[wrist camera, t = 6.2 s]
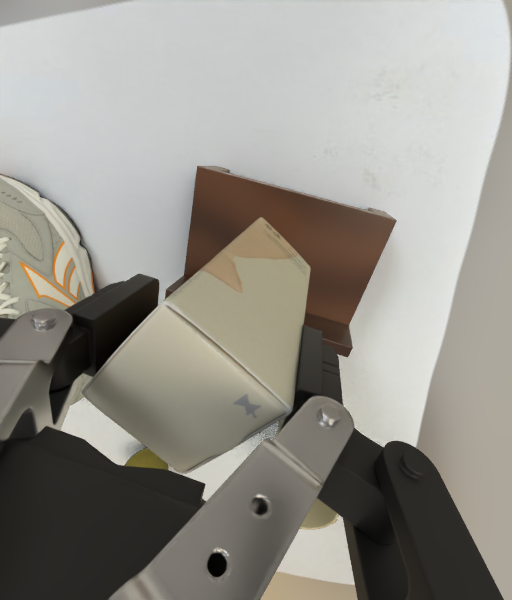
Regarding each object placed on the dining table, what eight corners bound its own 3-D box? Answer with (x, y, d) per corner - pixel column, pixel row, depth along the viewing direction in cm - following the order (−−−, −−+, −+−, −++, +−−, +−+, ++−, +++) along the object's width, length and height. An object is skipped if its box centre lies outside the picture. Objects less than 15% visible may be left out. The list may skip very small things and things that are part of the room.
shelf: (215, 166, 30) (177, 165, 22) (385, 211, 28) (410, 229, 20) (199, 270, 35) (164, 300, 27) (341, 312, 34) (348, 357, 26)
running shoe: (29, 150, 33) (-137, 140, 21) (160, 352, 42) (96, 426, 30) (-24, 192, 37) (-189, 204, 25) (107, 369, 46) (32, 440, 34)
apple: (158, 435, 51) (135, 474, 44) (183, 465, 53) (165, 506, 47) (129, 444, 54) (103, 481, 47) (154, 472, 56) (133, 511, 49)
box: (262, 214, 16) (169, 288, 6) (313, 268, 17) (305, 413, 7) (205, 273, 18) (70, 398, 8) (252, 319, 19) (181, 484, 9)
